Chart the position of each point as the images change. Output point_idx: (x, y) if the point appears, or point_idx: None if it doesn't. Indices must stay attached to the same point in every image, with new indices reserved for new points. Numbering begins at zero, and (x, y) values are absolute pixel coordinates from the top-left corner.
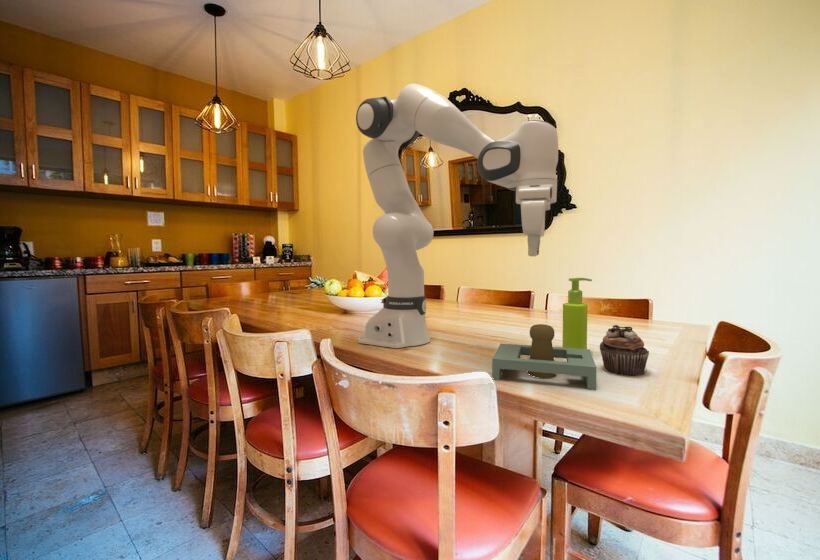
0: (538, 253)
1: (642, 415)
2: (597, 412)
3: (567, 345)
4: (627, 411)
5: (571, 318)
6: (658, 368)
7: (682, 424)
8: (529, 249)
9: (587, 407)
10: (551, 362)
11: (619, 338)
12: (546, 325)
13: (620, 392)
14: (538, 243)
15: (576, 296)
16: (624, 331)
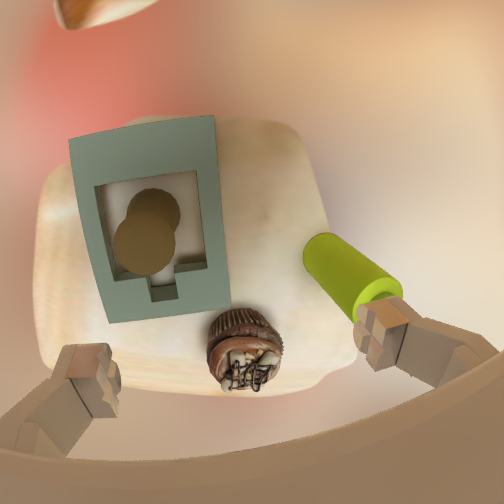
0: (358, 347)
1: None
2: (40, 305)
3: (315, 251)
4: (64, 334)
5: (339, 286)
6: None
7: None
8: (57, 377)
9: (47, 295)
10: (96, 255)
11: (222, 368)
12: (141, 262)
13: (124, 330)
14: (428, 377)
15: None
16: (232, 382)
